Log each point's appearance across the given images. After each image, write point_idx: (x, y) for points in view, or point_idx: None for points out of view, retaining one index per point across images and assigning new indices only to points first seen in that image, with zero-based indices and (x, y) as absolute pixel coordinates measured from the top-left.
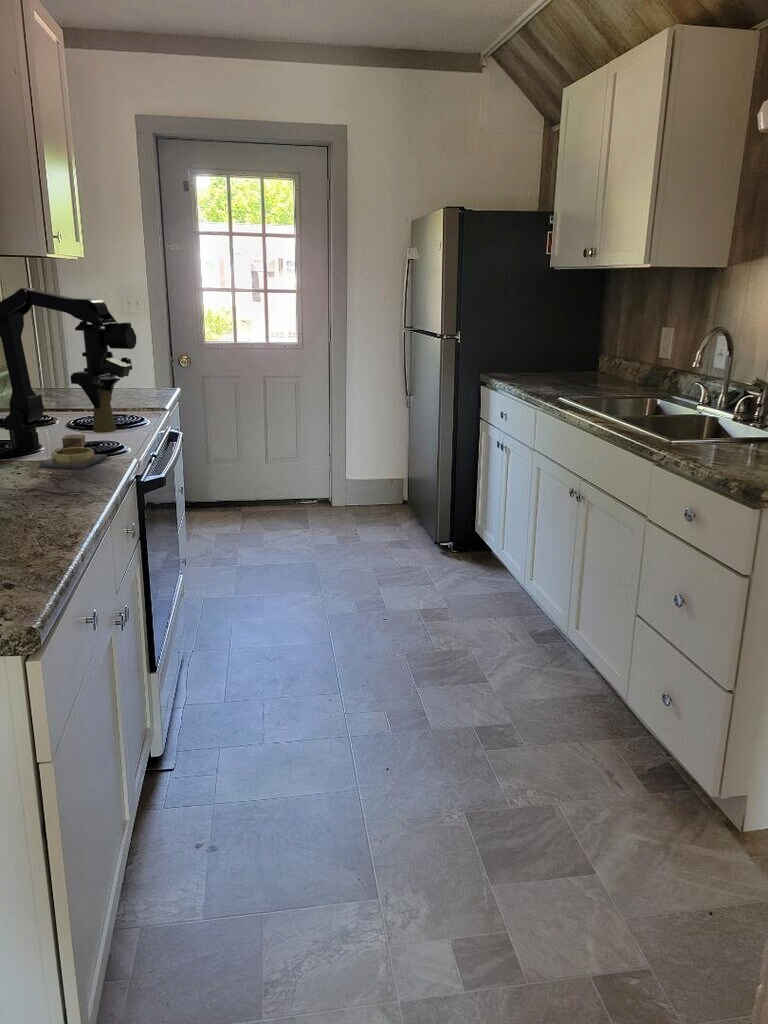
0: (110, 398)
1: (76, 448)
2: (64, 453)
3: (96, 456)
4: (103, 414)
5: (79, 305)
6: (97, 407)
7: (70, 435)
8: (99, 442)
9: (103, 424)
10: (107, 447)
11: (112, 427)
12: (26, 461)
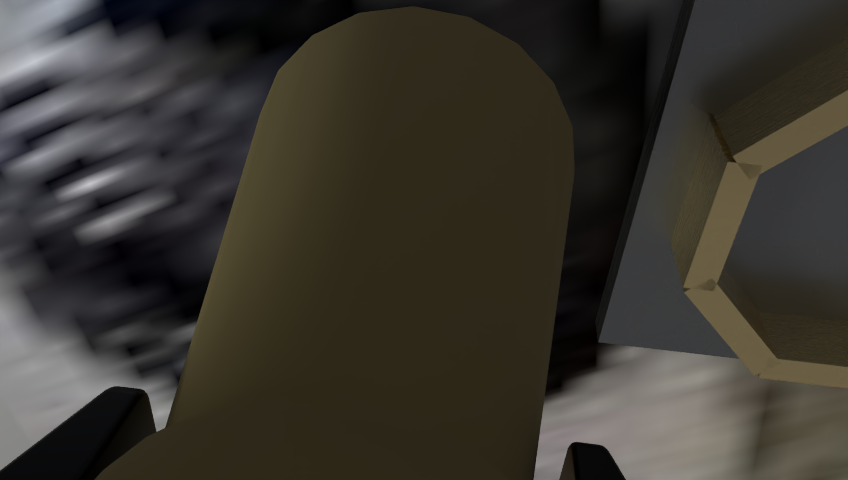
0: (304, 459)
1: (721, 269)
2: (757, 320)
3: (800, 27)
4: (534, 286)
5: None
6: (612, 474)
7: None
8: (46, 264)
9: (556, 185)
10: (196, 134)
11: (467, 50)
12: (750, 476)
